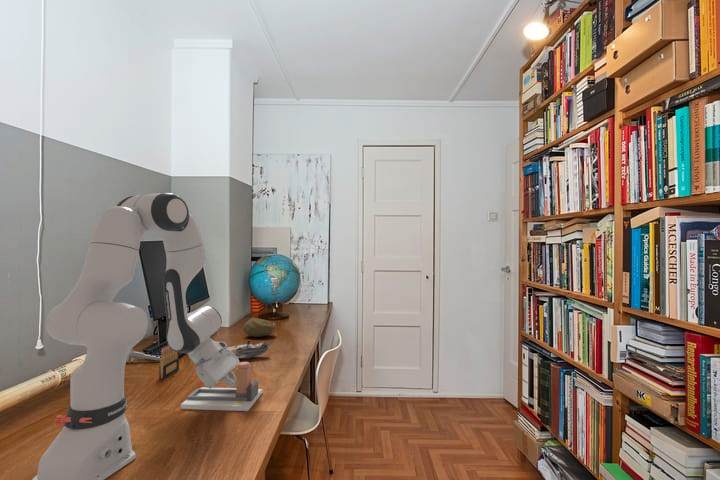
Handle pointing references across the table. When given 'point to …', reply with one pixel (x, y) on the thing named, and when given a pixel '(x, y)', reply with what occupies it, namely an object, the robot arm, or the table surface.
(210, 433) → the table surface
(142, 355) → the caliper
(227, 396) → the rail board
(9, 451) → the table surface
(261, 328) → the decorative stone
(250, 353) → the anime figure
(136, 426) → the table surface
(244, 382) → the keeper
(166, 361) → the ammunition clip
